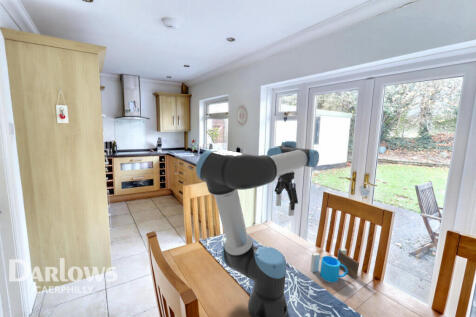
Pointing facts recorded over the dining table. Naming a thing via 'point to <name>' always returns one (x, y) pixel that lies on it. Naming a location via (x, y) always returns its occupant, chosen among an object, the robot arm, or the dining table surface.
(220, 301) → the dining table surface
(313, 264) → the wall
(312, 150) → the robot arm
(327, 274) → the mug
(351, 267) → the dark brown rectangular slab
